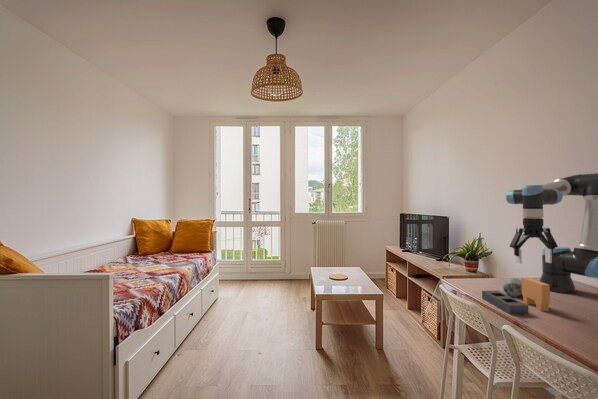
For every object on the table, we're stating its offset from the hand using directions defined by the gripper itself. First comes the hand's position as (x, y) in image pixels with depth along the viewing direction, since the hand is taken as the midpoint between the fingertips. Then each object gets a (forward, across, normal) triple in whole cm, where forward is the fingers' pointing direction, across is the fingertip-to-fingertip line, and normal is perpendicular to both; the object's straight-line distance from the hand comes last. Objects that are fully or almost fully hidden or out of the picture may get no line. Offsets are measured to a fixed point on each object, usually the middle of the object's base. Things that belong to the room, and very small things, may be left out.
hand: (533, 262), depth 134 cm
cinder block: (+21, +14, -1) cm, 25 cm away
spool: (+21, -2, -17) cm, 27 cm away
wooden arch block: (+21, 0, 0) cm, 21 cm away
